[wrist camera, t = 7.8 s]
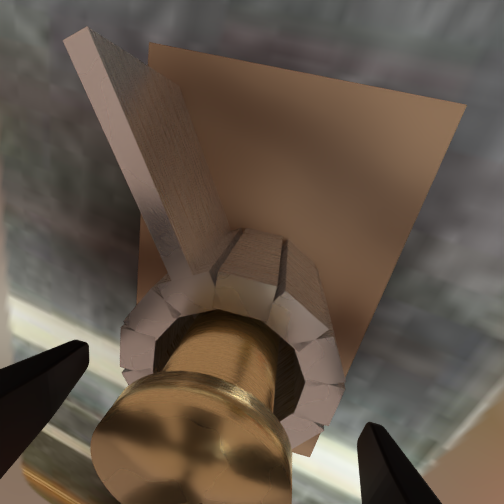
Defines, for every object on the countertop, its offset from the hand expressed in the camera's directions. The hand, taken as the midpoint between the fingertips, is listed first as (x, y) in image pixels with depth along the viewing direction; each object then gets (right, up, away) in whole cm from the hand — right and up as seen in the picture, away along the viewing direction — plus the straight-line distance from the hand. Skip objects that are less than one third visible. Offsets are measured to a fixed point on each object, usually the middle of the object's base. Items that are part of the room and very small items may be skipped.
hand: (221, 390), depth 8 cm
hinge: (0, +2, +5) cm, 6 cm away
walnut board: (+1, +2, +6) cm, 6 cm away
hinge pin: (+1, +2, +5) cm, 6 cm away
